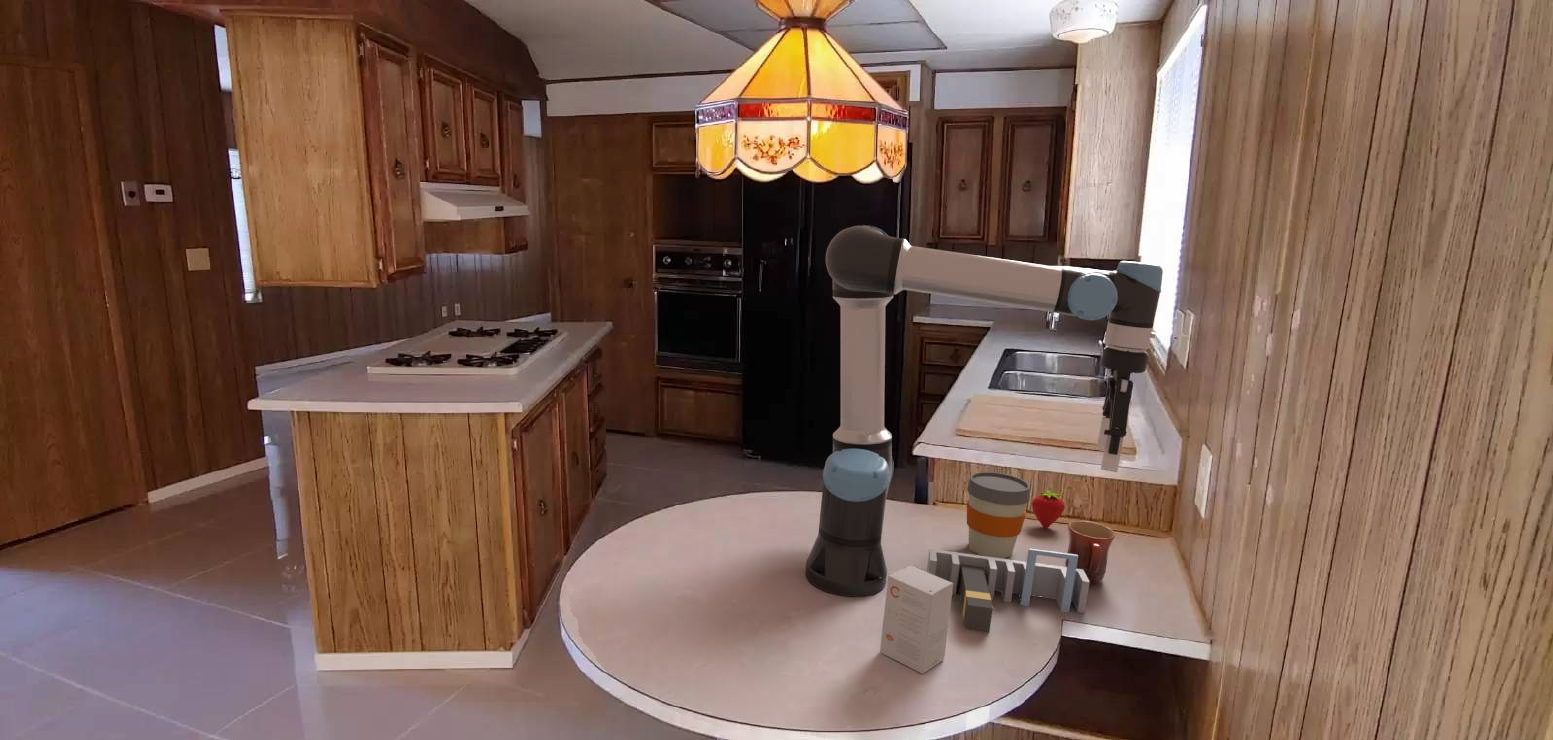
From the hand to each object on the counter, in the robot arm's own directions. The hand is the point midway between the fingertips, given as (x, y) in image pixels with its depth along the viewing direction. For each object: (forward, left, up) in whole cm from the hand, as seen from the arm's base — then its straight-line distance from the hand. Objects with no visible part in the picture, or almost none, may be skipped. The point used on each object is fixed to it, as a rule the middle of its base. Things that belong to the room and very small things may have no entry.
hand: (1106, 460), depth 148 cm
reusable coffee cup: (-17, +12, -26) cm, 33 cm away
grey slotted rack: (-16, -9, -25) cm, 32 cm away
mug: (+1, +2, -26) cm, 26 cm away
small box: (-34, -35, -26) cm, 55 cm away
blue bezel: (-10, -12, -26) cm, 30 cm away
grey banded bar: (-23, -16, -26) cm, 37 cm away
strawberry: (-2, +29, -26) cm, 39 cm away
